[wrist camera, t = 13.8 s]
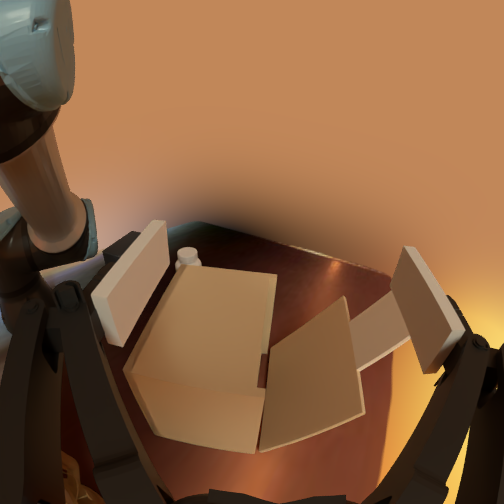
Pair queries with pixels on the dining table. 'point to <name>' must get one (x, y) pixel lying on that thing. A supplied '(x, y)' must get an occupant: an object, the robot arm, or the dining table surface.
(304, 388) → the front flap
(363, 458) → the dining table surface
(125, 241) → the small box
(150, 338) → the carton
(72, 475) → the lantern
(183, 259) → the supplement bottle
